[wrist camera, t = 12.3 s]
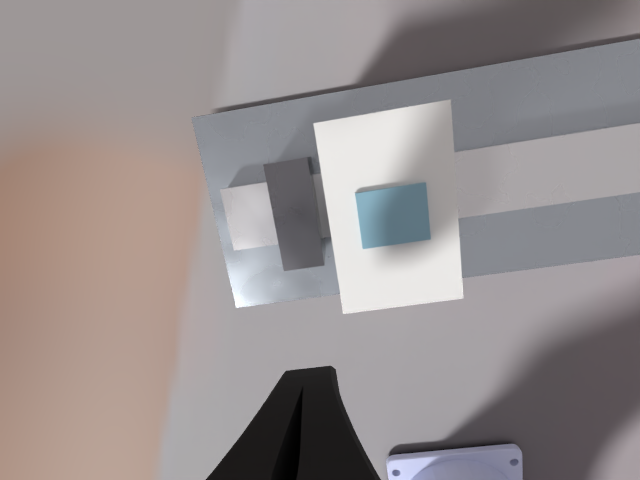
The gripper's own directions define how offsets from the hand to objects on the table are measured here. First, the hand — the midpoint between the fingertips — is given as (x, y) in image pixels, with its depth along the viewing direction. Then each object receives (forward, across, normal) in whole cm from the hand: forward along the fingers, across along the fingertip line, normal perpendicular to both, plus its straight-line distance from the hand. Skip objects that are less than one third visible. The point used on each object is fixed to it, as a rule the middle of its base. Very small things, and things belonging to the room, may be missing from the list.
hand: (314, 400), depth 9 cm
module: (+9, -3, -4) cm, 10 cm away
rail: (+9, -8, -4) cm, 13 cm away
